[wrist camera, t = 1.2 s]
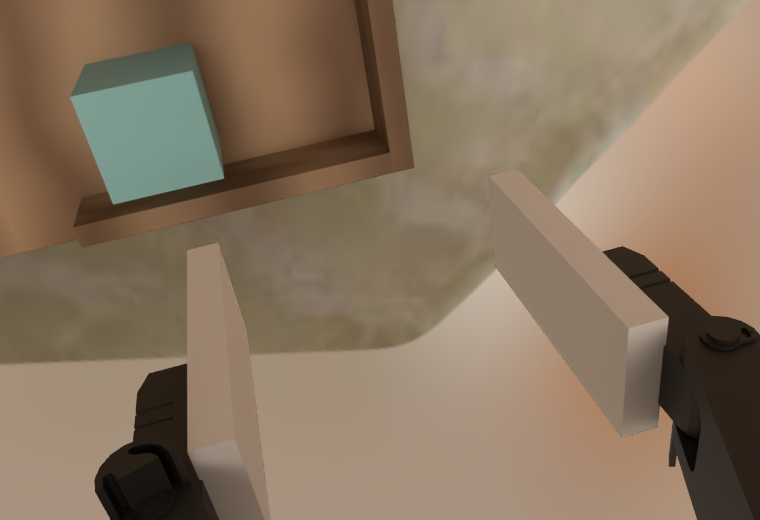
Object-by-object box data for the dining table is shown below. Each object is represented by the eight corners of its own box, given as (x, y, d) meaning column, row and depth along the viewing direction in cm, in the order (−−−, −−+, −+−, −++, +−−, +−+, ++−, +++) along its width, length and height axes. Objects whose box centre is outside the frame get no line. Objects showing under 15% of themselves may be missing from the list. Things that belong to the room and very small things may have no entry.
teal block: (121, 161, 32) (113, 204, 28) (84, 64, 29) (69, 96, 25) (219, 139, 32) (224, 178, 28) (191, 42, 30) (192, 70, 26)
